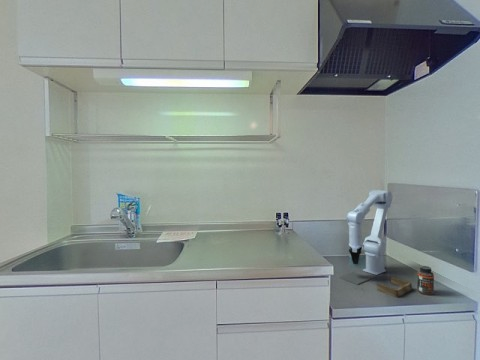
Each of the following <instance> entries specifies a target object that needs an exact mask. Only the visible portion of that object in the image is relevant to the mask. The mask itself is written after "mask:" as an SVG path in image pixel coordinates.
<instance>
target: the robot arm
mask: <svg viewBox="0 0 480 360" xmlns="http://www.w3.org/2000/svg"><path fill="white" fill-rule="evenodd" d="M392 201H393V194H392V192H391V191H390V190H383V189H382V190H378V189H371V190H370V191H369V193H368V197H367V199H366V200H365V201H364V202H360V203H359V204H358V205H357V206H356V207H355V209H353V210H352V211H349V212H347V214H346V216H345V218H346V219H345V220H346V221H347V226H348V246H349V249H348V251H349V255H350V254H351V257H352V261H353V264H358V261H359V256H361V254H362V252H363V253H364V255H365V269H362V272H366V273H369V274H372V275H375V276H378V275H380V274H383V273H384V272H387V269H385V257H384V255H385V251H386V242H385V241H384V240H383V239H382V238H381V237H382V234H383V230H384V226H385V223H386V218H387V213H388V209H389V208H391V204H392ZM372 206H374V207H375V208H376V211H375V214H374V220H373V223H372V227H371V230H370V235H368V236H366V237H364V241H363V240H362V238H363V237H362V234H363V233H362V229H363V228H362V224H363V223H364V220H365V218H366V215H368V213H370V212H371V207H372ZM362 242H363V243H362Z"/></svg>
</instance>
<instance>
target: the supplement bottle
mask: <svg viewBox="0 0 480 360" xmlns="http://www.w3.org/2000/svg"><path fill="white" fill-rule="evenodd" d="M434 276H435V275H434V273H433V272H432V268H431V266H428V265H421V266H419V270H417V282H416V283H417V287H416V288H417V292H418V293H420V294H422V295H425V296H426V295H427V296H431V295H434V291H435V289H434V288H435V277H434Z"/></svg>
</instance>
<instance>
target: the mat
mask: <svg viewBox="0 0 480 360" xmlns="http://www.w3.org/2000/svg"><path fill="white" fill-rule="evenodd" d="M339 279H341V280H344V281H347V282H349V283H352V284H354V285H357V286H359V285H361V284H363V283H366V282H368V281H370V280H372V278H371V277H368V276H367V275H363V274H360V273H359V272H358V273H357V272H355V271H352V272H349V273H347V274H345V275H342V276H339Z"/></svg>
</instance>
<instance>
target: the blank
mask: <svg viewBox="0 0 480 360" xmlns="http://www.w3.org/2000/svg"><path fill="white" fill-rule="evenodd" d="M348 257H349V258H348V267H349V268H356V269H362V270H363V269H365V268H366V255H360V256H359V261H358V264H353V261H352V257H351V254H350V253H349V255H348Z"/></svg>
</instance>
